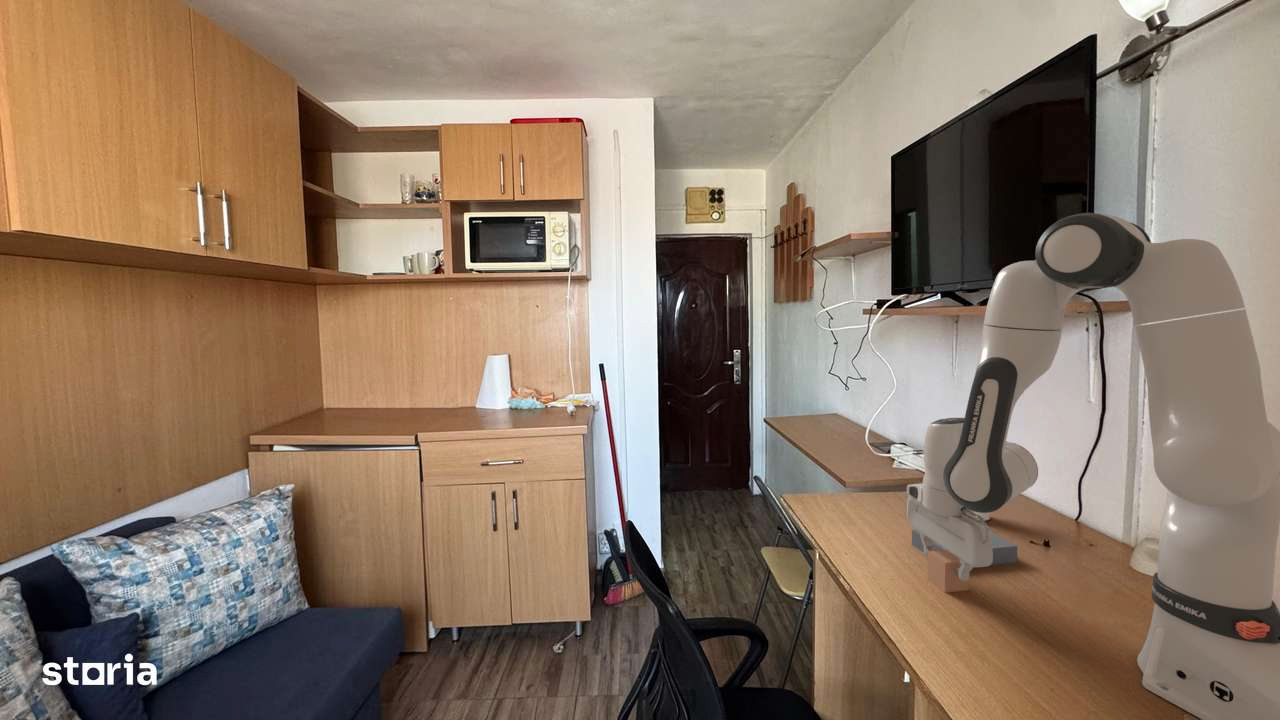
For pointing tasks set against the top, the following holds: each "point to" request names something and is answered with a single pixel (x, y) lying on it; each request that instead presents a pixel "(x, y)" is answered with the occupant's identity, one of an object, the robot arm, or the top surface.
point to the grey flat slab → (1000, 546)
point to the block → (945, 571)
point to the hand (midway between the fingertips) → (945, 566)
